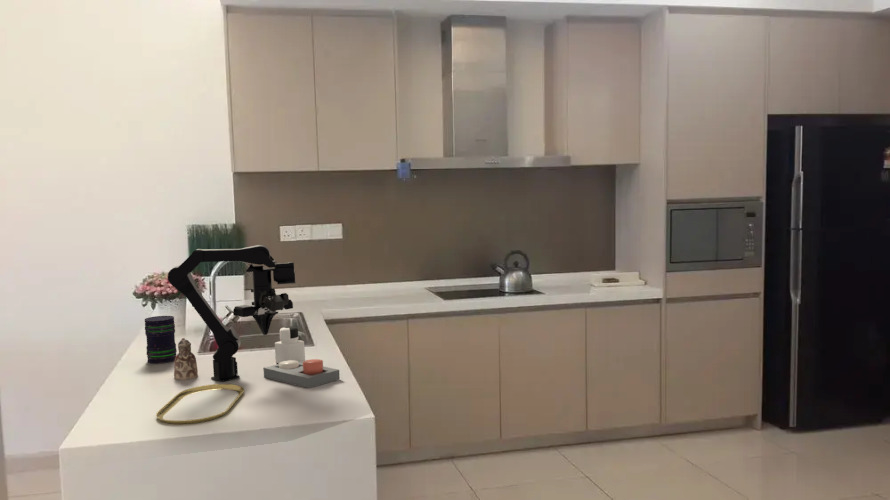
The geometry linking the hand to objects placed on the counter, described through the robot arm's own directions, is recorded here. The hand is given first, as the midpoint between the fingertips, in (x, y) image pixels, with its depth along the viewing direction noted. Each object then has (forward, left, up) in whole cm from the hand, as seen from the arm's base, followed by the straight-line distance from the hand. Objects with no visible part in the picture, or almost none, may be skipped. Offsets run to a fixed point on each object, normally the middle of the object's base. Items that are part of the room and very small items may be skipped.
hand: (265, 334), depth 244 cm
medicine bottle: (+15, +8, -13) cm, 22 cm away
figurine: (-16, +21, -13) cm, 30 cm away
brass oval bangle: (-30, -12, -14) cm, 35 cm away
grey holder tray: (+4, -12, -13) cm, 18 cm away
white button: (+4, -6, -13) cm, 15 cm away
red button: (+4, -18, -11) cm, 21 cm away
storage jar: (-9, +49, -13) cm, 52 cm away
